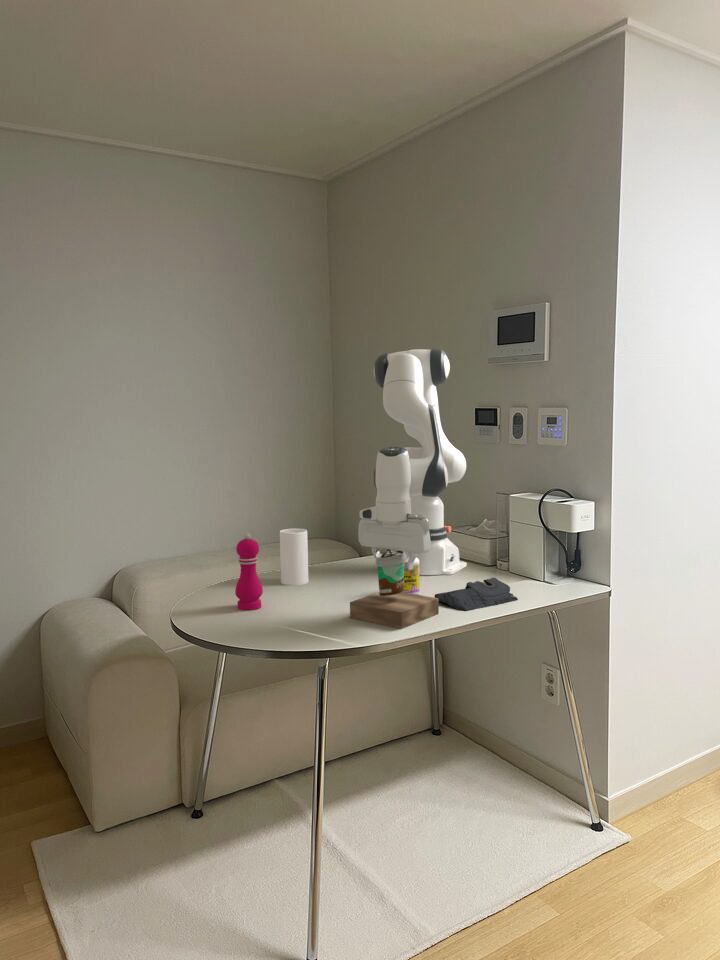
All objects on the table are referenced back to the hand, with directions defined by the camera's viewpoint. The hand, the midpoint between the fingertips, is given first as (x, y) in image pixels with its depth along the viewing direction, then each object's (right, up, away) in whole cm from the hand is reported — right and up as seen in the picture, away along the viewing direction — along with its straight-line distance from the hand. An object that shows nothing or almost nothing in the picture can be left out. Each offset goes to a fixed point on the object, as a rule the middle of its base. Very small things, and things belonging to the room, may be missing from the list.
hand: (394, 567), depth 194 cm
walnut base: (0, -12, +1) cm, 13 cm away
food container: (0, -6, +1) cm, 6 cm away
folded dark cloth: (+23, -11, +16) cm, 30 cm away
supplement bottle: (+5, -10, +23) cm, 26 cm away
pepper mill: (-38, -12, +11) cm, 41 cm away
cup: (-28, -9, +38) cm, 48 cm away
